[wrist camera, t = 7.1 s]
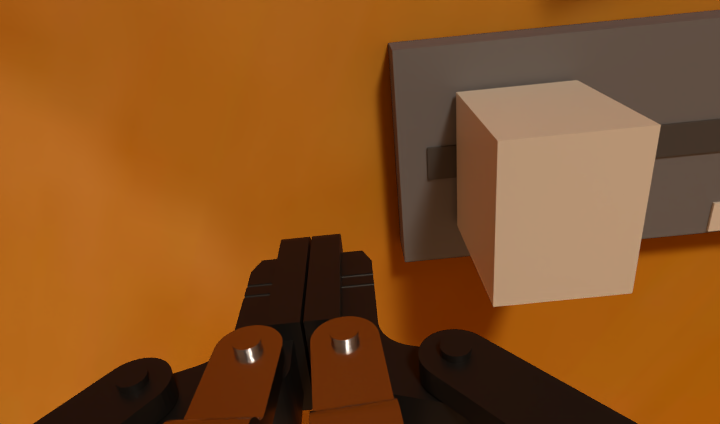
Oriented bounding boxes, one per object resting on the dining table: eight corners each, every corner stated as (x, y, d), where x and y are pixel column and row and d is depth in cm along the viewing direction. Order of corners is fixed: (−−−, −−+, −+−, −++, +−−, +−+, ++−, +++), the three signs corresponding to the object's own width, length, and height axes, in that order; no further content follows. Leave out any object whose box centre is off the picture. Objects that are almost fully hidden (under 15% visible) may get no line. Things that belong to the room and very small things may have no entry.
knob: (457, 225, 20) (493, 306, 15) (455, 92, 17) (498, 140, 13) (564, 214, 20) (632, 293, 15) (577, 79, 17) (660, 124, 13)
